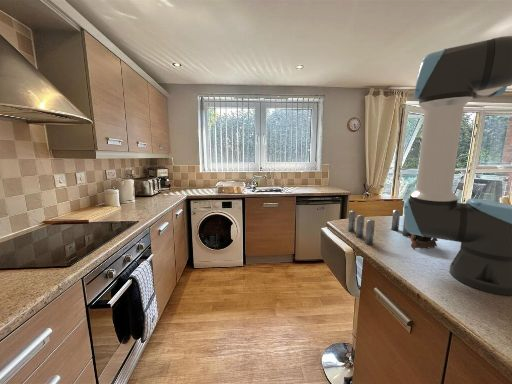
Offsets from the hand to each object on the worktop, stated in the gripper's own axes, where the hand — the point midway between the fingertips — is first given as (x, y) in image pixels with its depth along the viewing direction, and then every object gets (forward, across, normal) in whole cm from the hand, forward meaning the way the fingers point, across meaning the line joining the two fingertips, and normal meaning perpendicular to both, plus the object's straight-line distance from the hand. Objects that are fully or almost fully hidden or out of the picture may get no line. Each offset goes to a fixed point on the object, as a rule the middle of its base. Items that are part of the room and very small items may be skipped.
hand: (430, 172), depth 104 cm
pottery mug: (+29, +17, +19) cm, 39 cm away
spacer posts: (+28, +25, +7) cm, 38 cm away
